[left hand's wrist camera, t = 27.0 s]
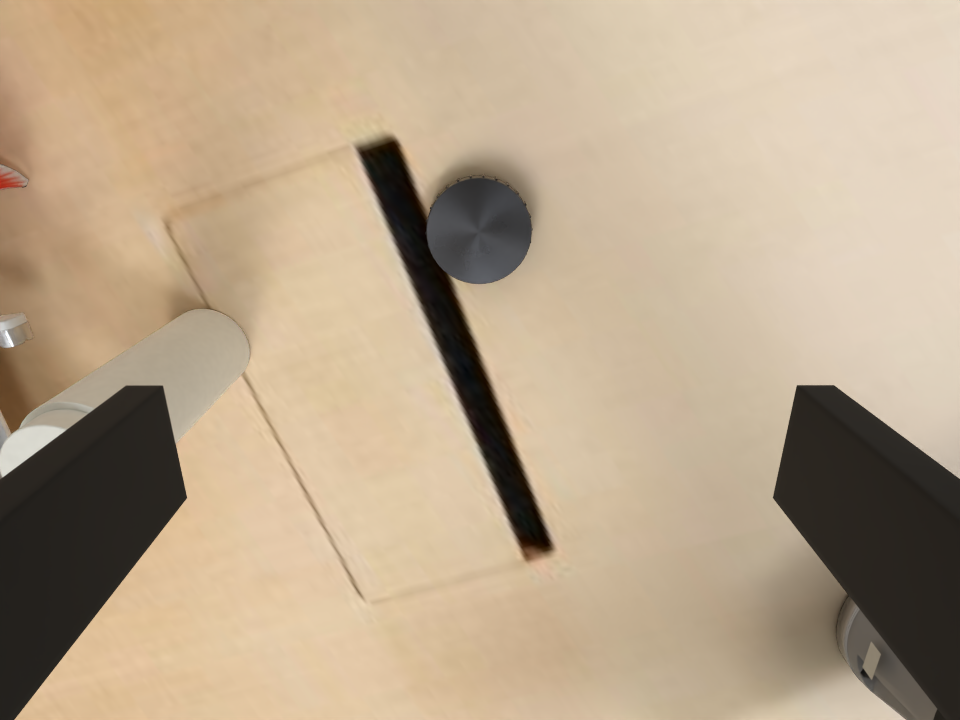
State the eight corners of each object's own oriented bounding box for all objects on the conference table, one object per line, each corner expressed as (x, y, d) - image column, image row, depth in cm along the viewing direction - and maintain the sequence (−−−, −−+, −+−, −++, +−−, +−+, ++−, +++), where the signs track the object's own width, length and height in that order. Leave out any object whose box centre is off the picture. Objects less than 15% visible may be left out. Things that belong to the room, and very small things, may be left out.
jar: (208, 398, 41) (62, 546, 27) (150, 337, 40) (-38, 460, 25) (266, 357, 40) (147, 488, 26) (210, 292, 39) (49, 394, 24)
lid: (489, 151, 35) (490, 153, 34) (550, 238, 37) (553, 244, 36) (406, 216, 37) (403, 221, 35) (469, 297, 39) (468, 305, 37)
